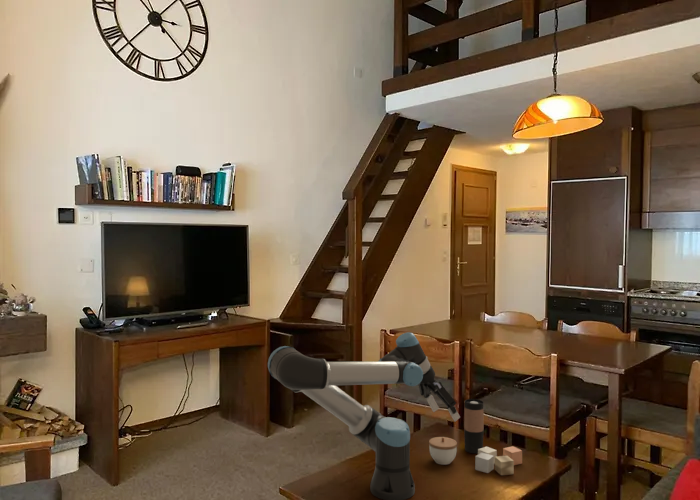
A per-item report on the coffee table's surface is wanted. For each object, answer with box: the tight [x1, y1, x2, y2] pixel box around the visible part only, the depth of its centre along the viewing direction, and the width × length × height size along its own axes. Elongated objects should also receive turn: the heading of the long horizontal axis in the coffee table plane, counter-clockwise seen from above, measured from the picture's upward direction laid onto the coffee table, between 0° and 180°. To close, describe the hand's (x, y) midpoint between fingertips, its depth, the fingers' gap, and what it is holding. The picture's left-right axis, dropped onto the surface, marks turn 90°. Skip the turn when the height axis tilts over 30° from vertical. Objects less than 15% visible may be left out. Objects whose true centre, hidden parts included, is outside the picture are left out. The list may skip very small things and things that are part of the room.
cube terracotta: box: [502, 446, 523, 466], centre depth 212 cm, size 5×5×5 cm
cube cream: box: [477, 446, 498, 465], centre depth 211 cm, size 5×5×5 cm
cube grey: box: [474, 452, 495, 474], centre depth 205 cm, size 5×5×5 cm
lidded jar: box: [428, 436, 458, 466], centre depth 212 cm, size 11×11×9 cm
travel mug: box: [463, 398, 485, 454], centre depth 223 cm, size 8×8×20 cm
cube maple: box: [494, 455, 515, 476], centre depth 203 cm, size 5×5×5 cm
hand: (446, 414), depth 211 cm, fingers open, 13 cm apart
